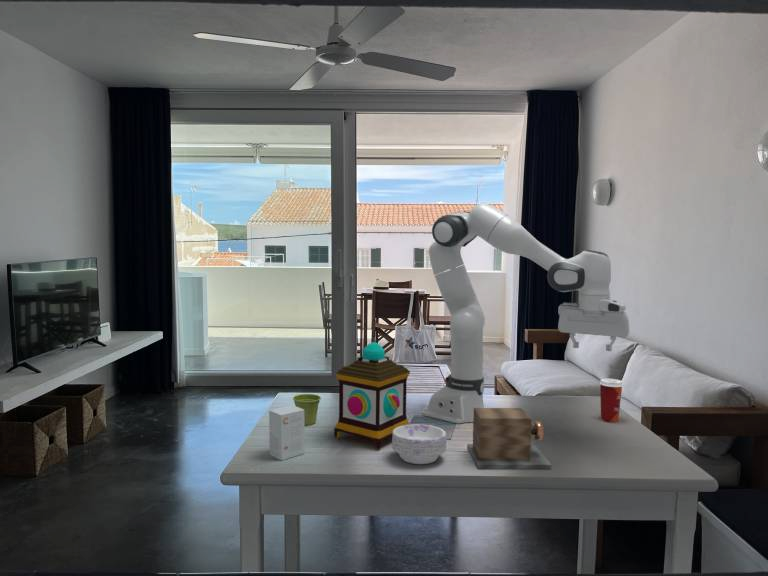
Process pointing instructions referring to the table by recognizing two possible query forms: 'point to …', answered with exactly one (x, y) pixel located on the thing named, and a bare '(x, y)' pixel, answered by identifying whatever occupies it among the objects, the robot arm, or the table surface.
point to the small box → (286, 432)
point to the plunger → (537, 430)
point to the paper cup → (610, 399)
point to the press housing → (504, 440)
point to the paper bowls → (419, 443)
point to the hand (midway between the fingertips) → (592, 349)
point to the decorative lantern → (372, 396)
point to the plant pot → (308, 406)
